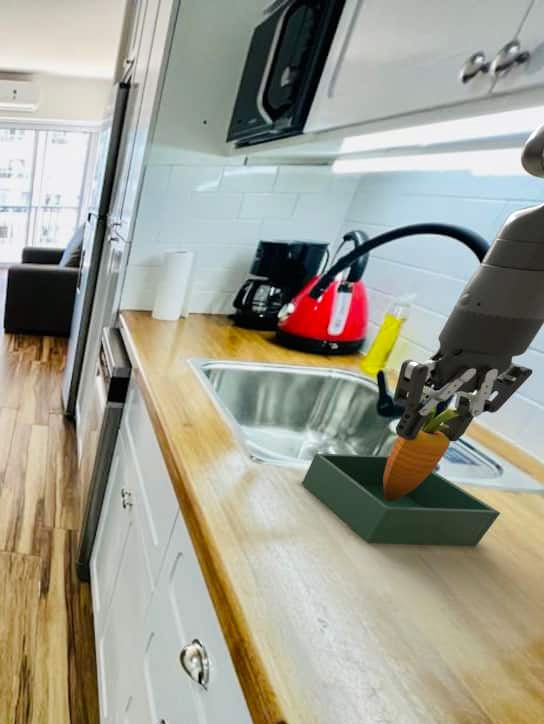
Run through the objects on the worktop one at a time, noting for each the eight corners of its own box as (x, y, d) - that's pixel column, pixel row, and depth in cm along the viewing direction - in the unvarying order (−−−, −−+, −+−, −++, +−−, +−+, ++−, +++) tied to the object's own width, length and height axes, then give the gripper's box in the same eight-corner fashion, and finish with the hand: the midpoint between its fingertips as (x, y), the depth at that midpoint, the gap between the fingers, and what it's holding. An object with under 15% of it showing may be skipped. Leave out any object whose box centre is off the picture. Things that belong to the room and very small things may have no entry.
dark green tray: (392, 486, 76) (409, 456, 73) (475, 546, 63) (501, 512, 61) (301, 483, 76) (315, 453, 73) (367, 542, 64) (387, 508, 61)
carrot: (369, 487, 72) (420, 394, 64) (412, 501, 69) (471, 406, 61) (364, 500, 69) (416, 405, 61) (408, 516, 66) (469, 417, 58)
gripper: (467, 314, 52) (392, 450, 60) (602, 317, 52) (508, 453, 60) (411, 299, 59) (350, 423, 67) (531, 302, 58) (454, 426, 67)
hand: (425, 437), depth 64 cm, fingers closed on carrot, 5 cm apart
